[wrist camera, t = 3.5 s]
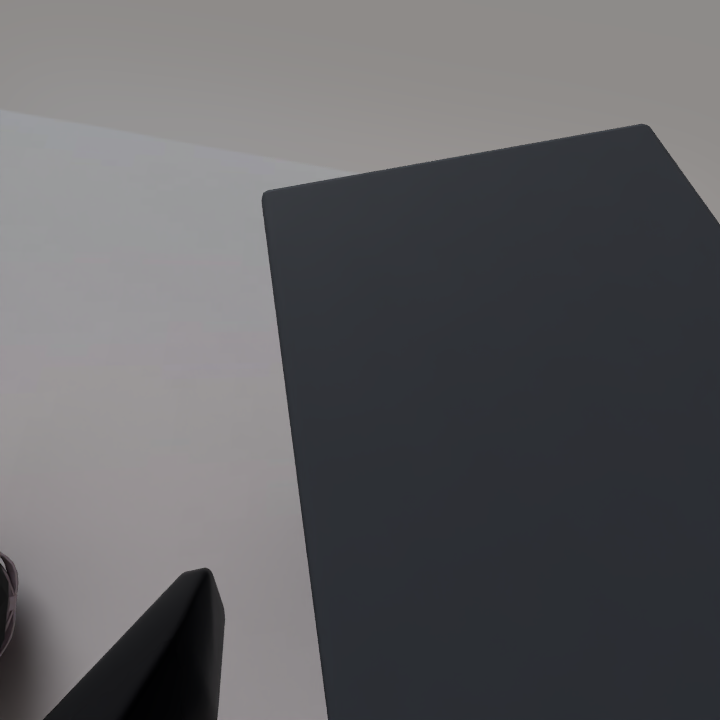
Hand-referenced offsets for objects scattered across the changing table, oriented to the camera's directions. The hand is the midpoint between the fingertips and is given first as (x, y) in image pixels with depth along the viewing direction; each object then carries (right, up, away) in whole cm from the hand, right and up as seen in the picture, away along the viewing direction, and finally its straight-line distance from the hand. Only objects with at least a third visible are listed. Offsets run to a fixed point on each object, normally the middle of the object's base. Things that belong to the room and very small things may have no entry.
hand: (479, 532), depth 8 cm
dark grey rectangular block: (0, -3, +8) cm, 8 cm away
